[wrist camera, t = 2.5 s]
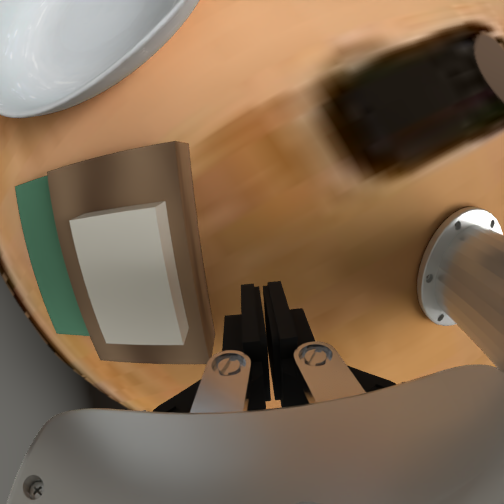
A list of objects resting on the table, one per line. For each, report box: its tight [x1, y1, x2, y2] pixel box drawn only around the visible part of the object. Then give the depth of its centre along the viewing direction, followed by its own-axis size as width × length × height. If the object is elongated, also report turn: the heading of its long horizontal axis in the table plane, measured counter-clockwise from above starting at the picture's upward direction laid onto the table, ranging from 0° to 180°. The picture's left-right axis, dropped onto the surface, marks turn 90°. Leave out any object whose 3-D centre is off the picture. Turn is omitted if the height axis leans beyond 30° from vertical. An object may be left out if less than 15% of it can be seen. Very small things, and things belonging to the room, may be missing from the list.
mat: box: [15, 176, 90, 336], centre depth 21 cm, size 8×16×1 cm, turn 5°
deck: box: [47, 141, 215, 364], centre depth 20 cm, size 10×16×4 cm, turn 5°
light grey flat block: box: [69, 201, 189, 345], centre depth 17 cm, size 6×9×2 cm, turn 5°
